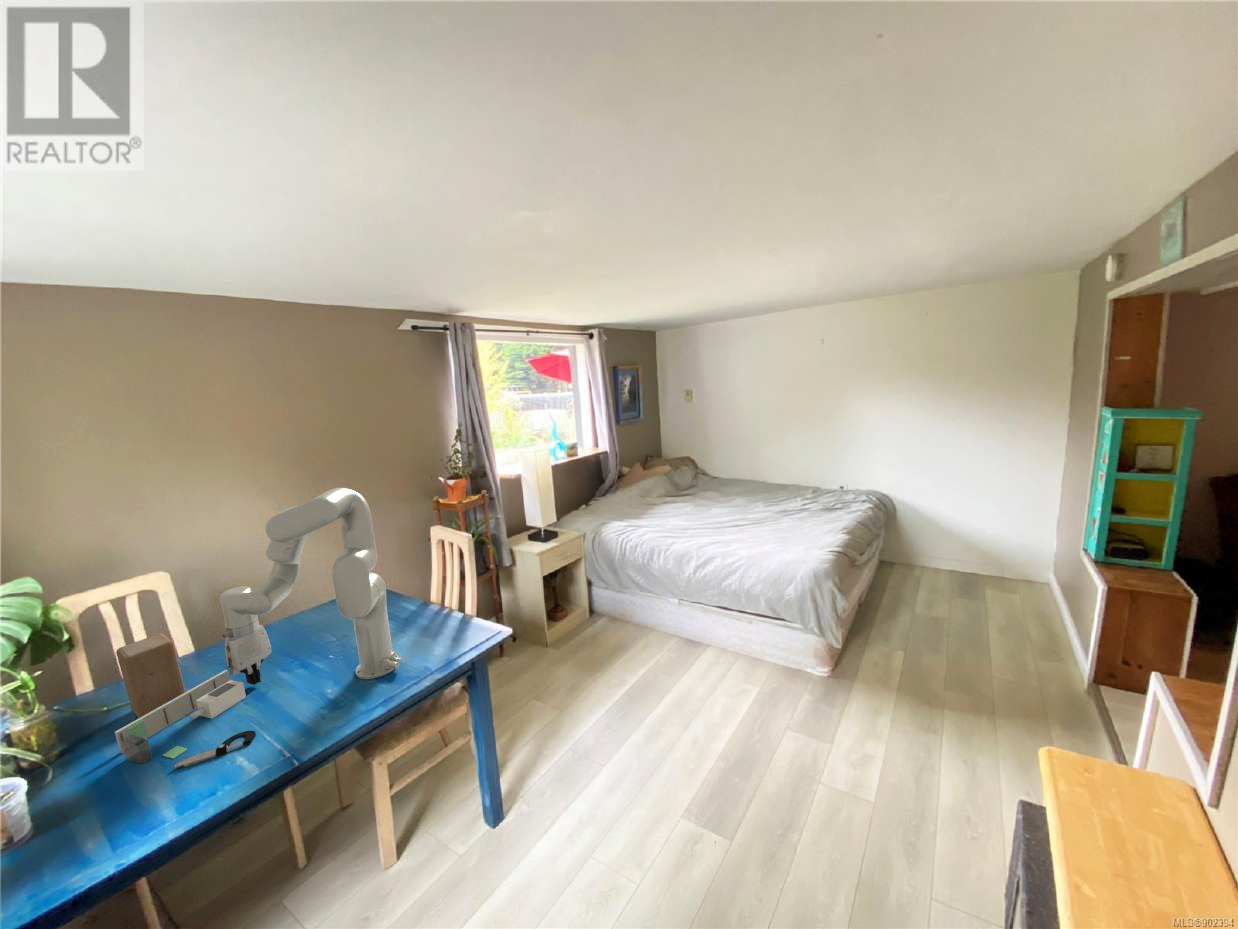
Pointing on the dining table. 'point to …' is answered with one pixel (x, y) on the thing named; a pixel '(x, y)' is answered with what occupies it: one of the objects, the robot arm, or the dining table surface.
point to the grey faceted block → (136, 749)
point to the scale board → (170, 711)
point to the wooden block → (150, 673)
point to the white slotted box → (219, 700)
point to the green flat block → (175, 752)
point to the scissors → (217, 749)
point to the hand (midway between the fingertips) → (254, 682)
